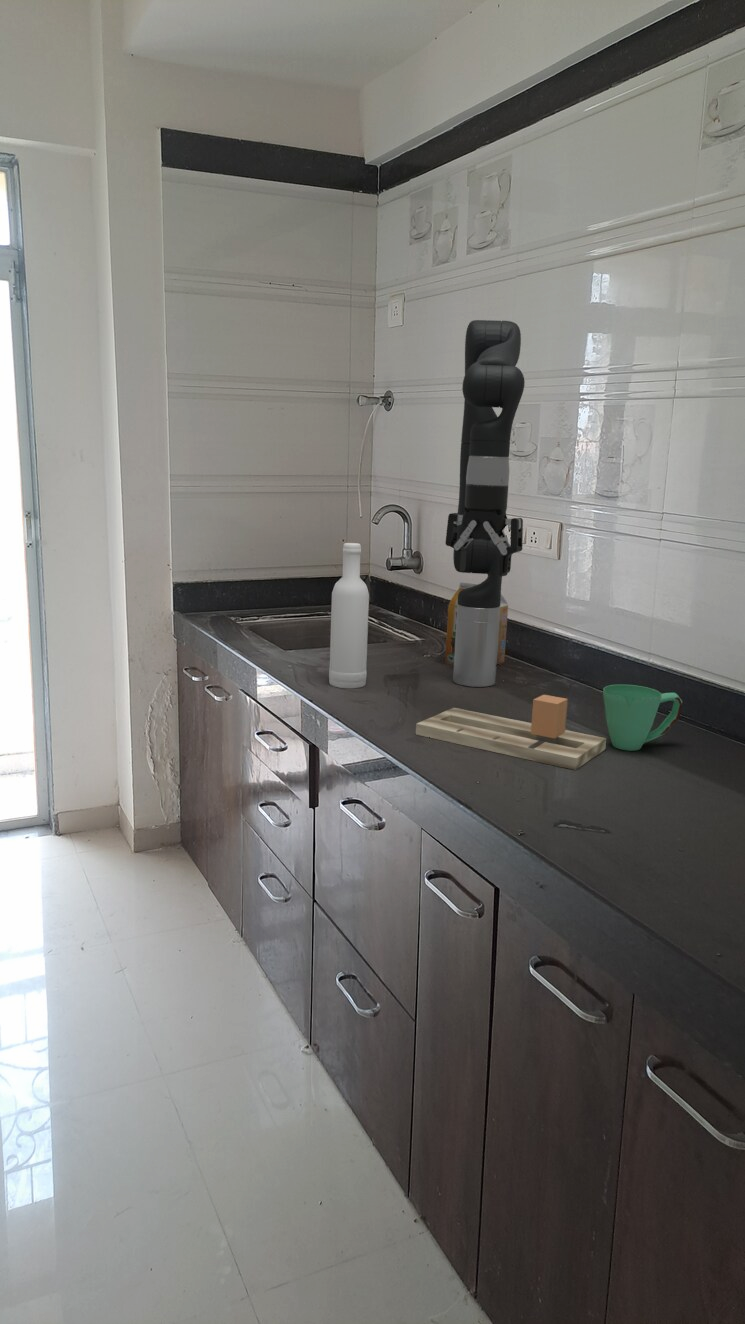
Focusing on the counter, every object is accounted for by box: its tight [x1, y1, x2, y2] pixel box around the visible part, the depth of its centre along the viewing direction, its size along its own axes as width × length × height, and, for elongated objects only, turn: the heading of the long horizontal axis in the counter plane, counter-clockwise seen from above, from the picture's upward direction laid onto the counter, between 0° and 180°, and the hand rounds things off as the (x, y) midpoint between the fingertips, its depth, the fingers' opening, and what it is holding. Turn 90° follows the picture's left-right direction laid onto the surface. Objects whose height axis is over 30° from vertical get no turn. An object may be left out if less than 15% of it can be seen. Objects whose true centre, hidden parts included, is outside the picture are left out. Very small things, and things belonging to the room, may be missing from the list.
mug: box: [602, 684, 683, 752], centre depth 167 cm, size 15×10×10 cm
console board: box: [415, 707, 607, 771], centre depth 167 cm, size 14×30×2 cm, turn 57°
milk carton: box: [444, 581, 509, 666], centre depth 227 cm, size 10×11×19 cm
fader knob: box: [530, 694, 568, 744], centre depth 162 cm, size 4×4×9 cm
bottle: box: [328, 542, 370, 689], centre depth 200 cm, size 8×8×30 cm
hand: (481, 573), depth 173 cm, fingers open, 8 cm apart
